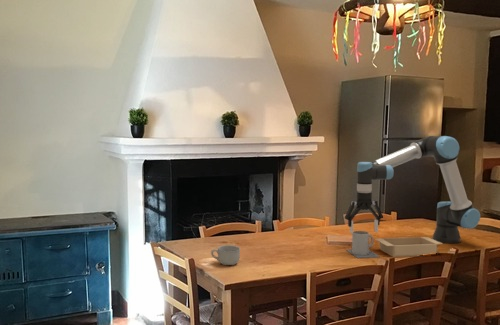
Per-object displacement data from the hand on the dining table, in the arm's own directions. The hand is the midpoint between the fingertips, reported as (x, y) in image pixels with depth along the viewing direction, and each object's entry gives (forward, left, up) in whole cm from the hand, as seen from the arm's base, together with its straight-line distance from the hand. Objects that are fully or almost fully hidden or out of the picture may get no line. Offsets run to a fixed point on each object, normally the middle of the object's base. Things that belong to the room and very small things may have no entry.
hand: (363, 232), depth 247 cm
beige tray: (-25, +1, -11) cm, 27 cm away
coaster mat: (0, 0, -11) cm, 11 cm away
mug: (0, 0, -11) cm, 11 cm away
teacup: (+73, +8, -12) cm, 75 cm away
